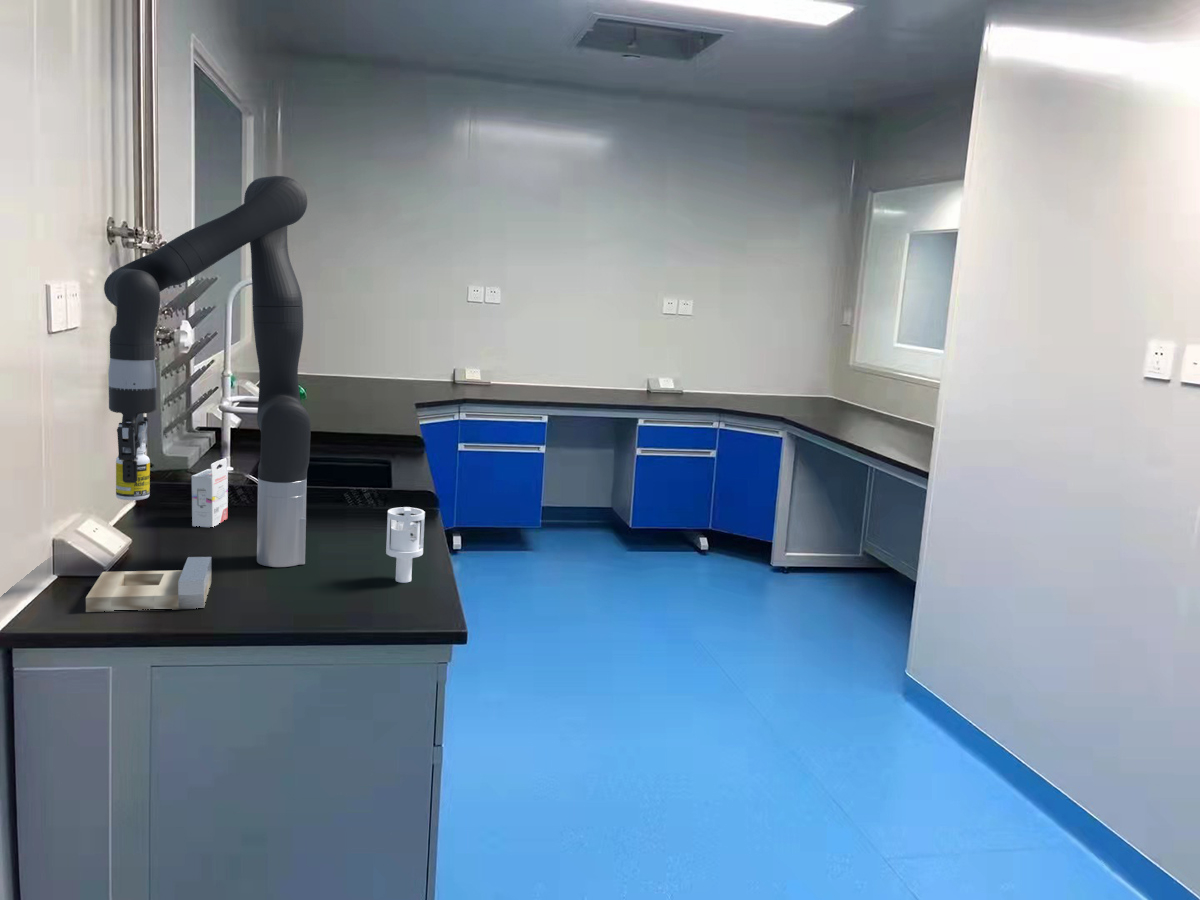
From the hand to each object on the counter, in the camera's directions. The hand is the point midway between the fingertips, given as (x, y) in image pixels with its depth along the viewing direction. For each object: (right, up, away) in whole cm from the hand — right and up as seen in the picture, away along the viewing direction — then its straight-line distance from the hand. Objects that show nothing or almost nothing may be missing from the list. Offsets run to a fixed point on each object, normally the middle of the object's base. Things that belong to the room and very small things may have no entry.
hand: (133, 478), depth 166 cm
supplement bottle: (0, -4, +1) cm, 4 cm away
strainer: (+45, -21, +16) cm, 52 cm away
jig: (+5, -21, -3) cm, 21 cm away
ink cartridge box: (-6, -12, +46) cm, 48 cm away
